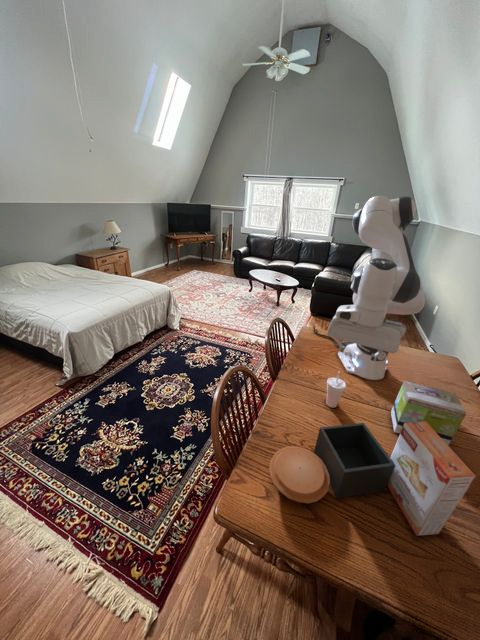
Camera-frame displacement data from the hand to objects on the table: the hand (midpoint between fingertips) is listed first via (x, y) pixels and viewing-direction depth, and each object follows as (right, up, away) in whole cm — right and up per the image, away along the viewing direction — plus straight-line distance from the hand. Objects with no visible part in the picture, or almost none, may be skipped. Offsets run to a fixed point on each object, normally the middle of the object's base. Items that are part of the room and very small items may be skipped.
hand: (356, 355), depth 84 cm
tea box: (+22, -25, +4) cm, 34 cm away
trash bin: (-7, -30, -10) cm, 33 cm away
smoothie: (-3, -20, +14) cm, 24 cm away
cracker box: (+5, -35, -18) cm, 39 cm away
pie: (-22, -32, -13) cm, 40 cm away
